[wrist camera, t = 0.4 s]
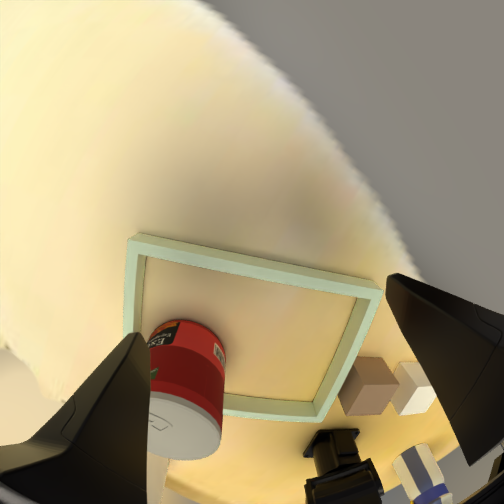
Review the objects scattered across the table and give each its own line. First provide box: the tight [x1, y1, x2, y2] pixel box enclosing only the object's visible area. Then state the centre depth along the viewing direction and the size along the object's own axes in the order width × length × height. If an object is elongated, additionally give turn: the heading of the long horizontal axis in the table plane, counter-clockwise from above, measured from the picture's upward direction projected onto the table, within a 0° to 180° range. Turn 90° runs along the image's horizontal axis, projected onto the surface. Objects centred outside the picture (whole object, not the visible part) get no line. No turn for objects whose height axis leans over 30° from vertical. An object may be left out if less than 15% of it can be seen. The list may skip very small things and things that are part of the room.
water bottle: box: [392, 443, 453, 504], centre depth 25 cm, size 8×9×25 cm
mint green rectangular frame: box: [123, 233, 384, 422], centre depth 26 cm, size 17×22×2 cm
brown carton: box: [337, 356, 400, 416], centre depth 27 cm, size 4×4×5 cm
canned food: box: [147, 320, 226, 460], centre depth 22 cm, size 8×8×11 cm
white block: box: [390, 362, 437, 416], centre depth 27 cm, size 4×4×5 cm
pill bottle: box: [147, 451, 169, 504], centre depth 25 cm, size 8×8×15 cm
